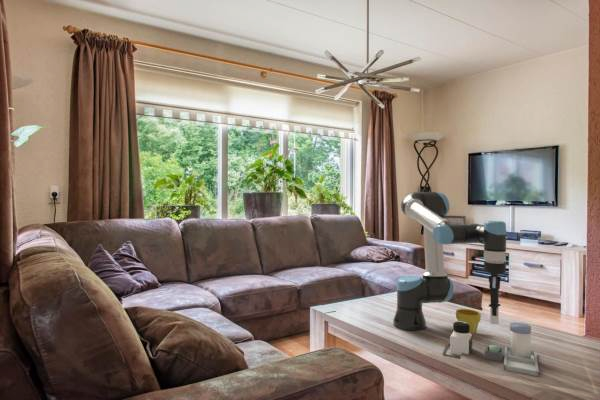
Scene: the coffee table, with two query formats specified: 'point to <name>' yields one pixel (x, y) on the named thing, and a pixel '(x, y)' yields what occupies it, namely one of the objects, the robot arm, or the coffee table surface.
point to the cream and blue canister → (520, 340)
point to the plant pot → (469, 318)
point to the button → (494, 348)
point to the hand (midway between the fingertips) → (494, 323)
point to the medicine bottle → (460, 338)
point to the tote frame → (446, 354)
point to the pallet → (514, 361)
